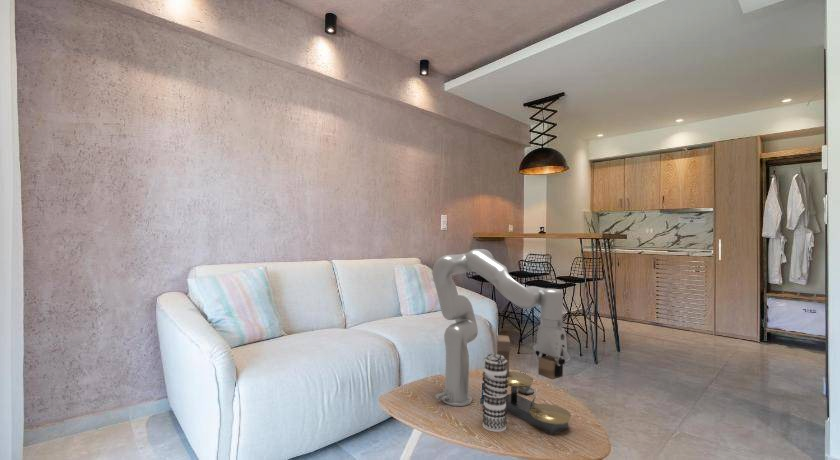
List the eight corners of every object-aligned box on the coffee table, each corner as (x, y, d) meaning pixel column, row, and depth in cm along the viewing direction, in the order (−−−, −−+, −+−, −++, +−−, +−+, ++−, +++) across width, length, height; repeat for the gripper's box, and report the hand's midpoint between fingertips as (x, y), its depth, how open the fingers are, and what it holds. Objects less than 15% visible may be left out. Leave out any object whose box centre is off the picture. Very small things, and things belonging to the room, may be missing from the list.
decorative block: (509, 385, 175) (510, 341, 175) (496, 384, 176) (497, 340, 177) (508, 376, 186) (509, 335, 186) (496, 375, 187) (497, 334, 187)
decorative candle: (509, 423, 139) (511, 354, 140) (504, 434, 131) (506, 361, 131) (485, 417, 143) (486, 350, 143) (478, 428, 134) (480, 357, 135)
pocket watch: (532, 389, 171) (532, 366, 171) (536, 397, 163) (536, 373, 163) (513, 388, 172) (514, 365, 172) (516, 395, 164) (517, 372, 164)
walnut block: (552, 379, 134) (552, 362, 134) (538, 374, 139) (538, 357, 139) (563, 376, 137) (563, 359, 137) (549, 371, 142) (549, 355, 142)
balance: (553, 440, 128) (554, 404, 128) (488, 405, 153) (489, 375, 154) (578, 429, 135) (579, 395, 136) (512, 398, 161) (513, 369, 161)
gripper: (579, 327, 133) (578, 379, 133) (538, 317, 147) (538, 364, 147) (565, 329, 129) (564, 383, 128) (525, 319, 143) (524, 368, 143)
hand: (550, 372), depth 138 cm, fingers closed on walnut block, 6 cm apart
